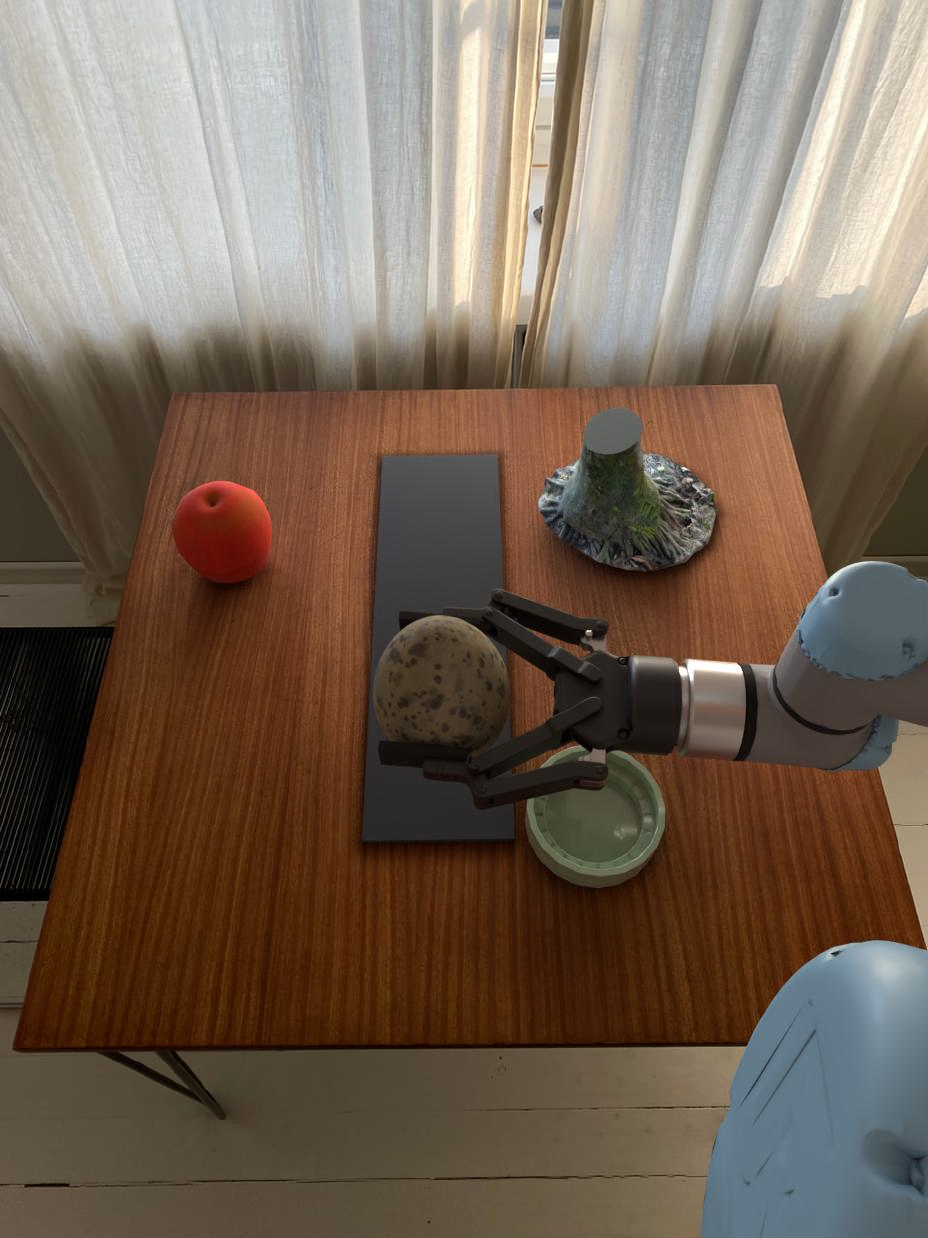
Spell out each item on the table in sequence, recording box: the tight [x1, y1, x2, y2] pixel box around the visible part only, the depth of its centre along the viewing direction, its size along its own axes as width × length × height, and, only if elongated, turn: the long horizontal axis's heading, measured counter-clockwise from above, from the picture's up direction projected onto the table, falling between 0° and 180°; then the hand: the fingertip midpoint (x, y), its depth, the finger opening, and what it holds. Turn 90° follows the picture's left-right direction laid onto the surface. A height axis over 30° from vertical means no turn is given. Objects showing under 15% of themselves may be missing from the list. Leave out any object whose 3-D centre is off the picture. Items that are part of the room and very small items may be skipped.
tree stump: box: [537, 406, 718, 573], centre depth 95 cm, size 18×20×18 cm
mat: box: [361, 454, 516, 844], centre depth 93 cm, size 48×14×1 cm, turn 1°
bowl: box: [524, 745, 666, 889], centre depth 79 cm, size 12×12×4 cm
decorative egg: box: [373, 615, 512, 758], centre depth 68 cm, size 11×11×15 cm
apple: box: [170, 480, 273, 584], centre depth 93 cm, size 10×10×12 cm
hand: (390, 685), depth 68 cm, fingers closed on decorative egg, 11 cm apart
